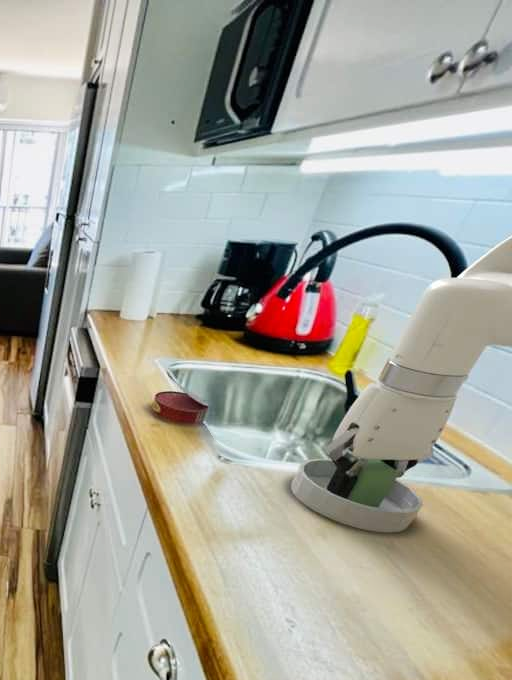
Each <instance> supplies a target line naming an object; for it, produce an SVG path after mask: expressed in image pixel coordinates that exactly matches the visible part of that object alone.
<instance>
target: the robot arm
mask: <svg viewBox="0 0 512 680" xmlns="http://www.w3.org/2000/svg"><path fill="white" fill-rule="evenodd" d="M417 302H418V303H417V305H416V307H415V308H414V310H413V312H412V314H411V315H410V317H409V319H408V322H407V323H406V325H405V327H404V329H403V331H402V333H401V335H400V337H399V339H398V340H397V342H396V345H395V346H394V348H393V350H392V352H391V354H390V355H389V358H388V359H387V361H386V363H385V365H384V367H383V368H382V371H381V373H380V375H379V376H378V379H377V381H375V382H373V381H371V382H370V383H369V384H367V386H366V387H365V388H364V389H363V390H362V392H361V393H360V394H359V395H358V397H357V398H356V399H355V401H354V402H353V403H352V405H351V406H350V407H349V408H348V410H347V412H346V414H345V415H344V417H343V419H342V420H341V421H340V424H339V425H338V427H337V429H336V431H335V433H334V435H333V437H332V442H330V443H329V444H327V445H326V446H325V447H324V448H323V452H324V454H325V455H327V457H328V458H329V459H332V461H333V462H334V466H335V467H337V469H336V471H335V473H334V475H333V476H332V478H331V480H330V482H329V484H328V486H327V489H328V490H329V491H330V492H331V493H333V494H335V495H337V496H340V497H342V498H345V499H347V497H348V496H349V494H350V492H351V490H352V489H353V487H354V485H355V483H356V481H357V480H358V477H356V476H355V475H356V474H357V473H358V471H359V470H360V469H361V468H362V467H363V466H364V464H365V463H366V462H367V461H368V460H369V459H379V460H381V461H382V462H384V463H385V464H387V465H389V466H390V467H392V468H393V469H395V470H397V471H398V472H400V473H399V475H398V476H397V478H396V479H400V478H402V477H403V476H405V473H406V472H407V471H408V470H410V469H412V468H414V467H415V466H417V464H421V463H423V462H425V461H427V460H429V459H431V458H433V457H434V450H433V447H434V446H435V445H436V443H437V442H438V439H439V437H440V436H441V434H442V432H443V431H444V429H445V427H446V425H447V422H448V421H449V418H450V416H451V414H452V412H453V409H454V406H455V404H456V401H457V397H458V395H457V394H458V393H459V391H460V390H461V387H462V386H463V384H464V383H465V382H466V381H467V380H468V378H469V375H470V373H471V371H472V369H473V368H474V366H475V365H476V363H477V362H478V360H479V359H480V356H481V355H482V353H483V352H484V350H485V349H486V347H488V346H501V347H507V348H512V235H510V236H509V237H507V238H506V239H504V240H502V241H501V242H500V243H498V244H497V245H495V246H493V248H492V249H490V250H488V251H487V252H486V253H485V254H484V255H482V256H481V257H480V258H478V259H477V260H475V261H474V262H473V263H472V264H471V265H470V266H468V267H467V268H466V269H464V270H463V271H462V272H461V273H460V274H459V275H457V276H456V277H445V278H439V279H437V280H434V281H433V282H431V283H430V284H429V285H428V286H427V287H426V288H425V290H424V292H422V295H421V297H420V299H419V300H418V301H417ZM352 456H353V457H354V458H356V459H355V460H354V462H353V463H352V464H351V463H350V461H349V460H350V459H351V458H352ZM396 479H395V480H396ZM392 485H393V484H392ZM387 493H388V492H387ZM384 498H385V497H384Z"/></svg>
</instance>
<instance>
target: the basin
mask: <svg viewBox="0 0 512 680" xmlns="http://www.w3.org/2000/svg"><path fill="white" fill-rule="evenodd" d="M336 469H337V467H335V466H334V462H333V461H332V459H331V458H314V459H313V458H312V459H307V460H305V461H303V462H302V463H300V465H299V467H298V469H297V470H296V472H295V475H294V477H293V480H292V482H291V485H290V489H291V492H292V494H293V495H294V497H295V498H297V500H298V501H299V502H301V503H302V504H304V506H306V507H308V508H309V509H311V510H312V511H314V512H316V513H318V514H319V515H322V516H323V517H326V518H327V519H328V518H329V519H330V520H333V521H334V522H338V523H341V524H344V525H346V526H349V527H352V528H356V529H362V530H365V531H370V532H376V533H398V532H402V531H404V530H406V529H408V527H409V526H410V525H411V524H412V522H413V521H414V519H415V518H416V517H417V515H418V514H419V513H420V511H421V509H422V508H423V506H424V502H423V499H422V497H421V495H420V494H419V493H418V492H416V490H414V489H413V488H412V487H411V486H409V485H407V483H404V482H403V481H401V480H399V479H398V478H396V480H395V481H394V483H393V485H392V486H391V488H390V489H389V491H388V493H387V494H386V496H385V498H384V499H383V501H382V502H381V504H380V506H379V507H370V506H366V505H363V504H359V503H356V502H353V501H350V500H347V499H345V498H342V497H340V496H337V495H335V494H332V493H331V492H329V491H328V490H327V486H328V484H329V482H330V480H331V478H332V476H333V475H334V473H335V471H336Z"/></svg>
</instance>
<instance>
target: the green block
mask: <svg viewBox="0 0 512 680" xmlns="http://www.w3.org/2000/svg"><path fill="white" fill-rule="evenodd" d="M355 459H356V458H354V457H353V456H352V458H351V459H350V460H349V461H350V463H351V464H352V463H353V462H354V460H355ZM399 473H400V472H398V471H397V470H395V469H393V468H392V467H390V466H389V465H387V464H385V463H384V462H382V461H381V459H369V460H368V461H367V462H366V463H365V464H364V466H363V467H362V468H361V469H360V470H359V471H358V473H357V474H356V475H355V476H356V477H358V480H357V481H356V483H355V485H354V487H353V489H352V490H351V492H350V494H349V496H348V497H347V500H350V501H353V502H356V503H359V504H363V505H366V506H370V507H379V506H380V504H381V502H382V501H383V499H384V497H385V496H386V494H387V492H388V491H389V489H390V488H391V486H392V484H393V483H394V481H395V479H398V478H397V476H398V475H399ZM327 490H328V489H327ZM328 491H329V490H328ZM329 492H330V491H329ZM332 494H333V493H332Z"/></svg>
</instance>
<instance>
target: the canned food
mask: <svg viewBox="0 0 512 680" xmlns="http://www.w3.org/2000/svg"><path fill="white" fill-rule="evenodd" d="M165 372H166V374H167V376H168V377H169V378H170V380H172V381H173V382H174V383H175V385H177V386H178V387H179V388H180V390H182V391H183V392H182V391H172V390H168V391H166V390H164V391H160V392H157V393H156V394H155V395H154V399H153V402H152V404H151V405H152V406H151V408H150V409H151V412H152V414H153V415H154V416H156V417H157V418H159V419H161V420H164V421H167V422H169V423H173V424H174V423H175V424H178V425H184V426H185V425H187V426H193V425H195V426H196V425H199V424H202V423H204V421H205V418H206V415H207V412H208V410H209V408H210V404H209V403H208V402H207V401H206V400H205V399H204V398H201V397H200V396H198V395H197V394H195V393H193V392H192V391H190V390H189V389H187V388H185V387H183V386H182V385H180V384H179V383H178V382H177V381H176V380H175V379H174V378H173V376H172V375H171V374H170V373H169V372H168V370H165Z"/></svg>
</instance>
